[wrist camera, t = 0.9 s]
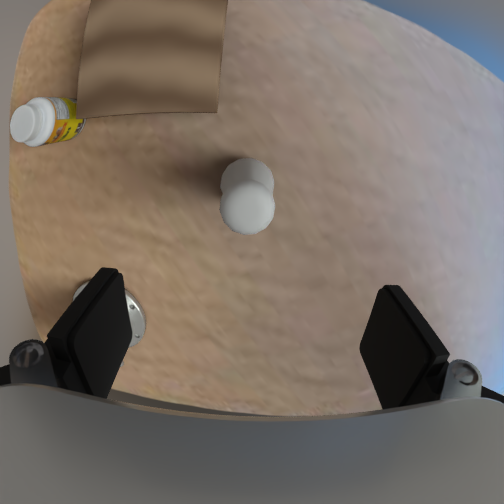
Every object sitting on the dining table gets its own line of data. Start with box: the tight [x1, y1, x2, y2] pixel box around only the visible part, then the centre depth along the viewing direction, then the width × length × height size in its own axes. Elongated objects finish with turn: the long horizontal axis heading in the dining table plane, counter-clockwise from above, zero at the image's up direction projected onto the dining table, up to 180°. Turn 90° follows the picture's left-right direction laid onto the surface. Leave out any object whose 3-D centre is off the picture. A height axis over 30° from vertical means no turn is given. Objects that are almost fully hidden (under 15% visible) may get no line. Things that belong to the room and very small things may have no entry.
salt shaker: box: [219, 158, 275, 235], centre depth 28 cm, size 6×6×13 cm
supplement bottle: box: [10, 97, 86, 147], centre depth 25 cm, size 6×6×10 cm
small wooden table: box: [76, 0, 228, 119], centre depth 24 cm, size 15×15×6 cm
